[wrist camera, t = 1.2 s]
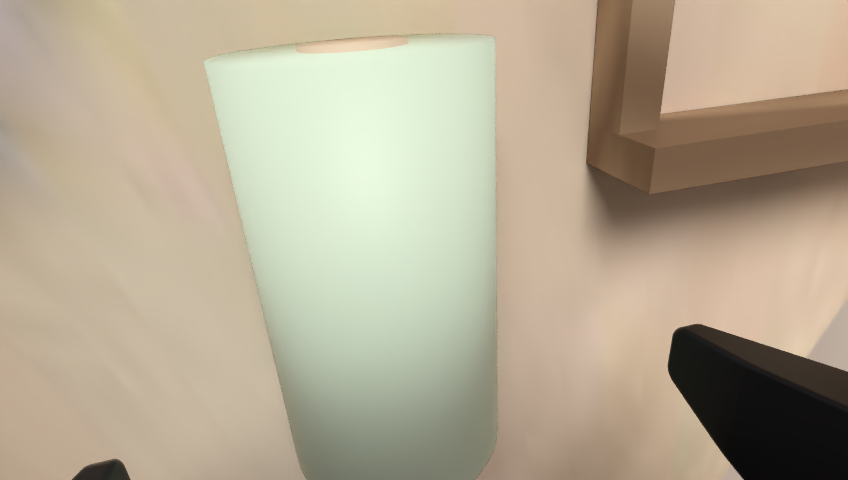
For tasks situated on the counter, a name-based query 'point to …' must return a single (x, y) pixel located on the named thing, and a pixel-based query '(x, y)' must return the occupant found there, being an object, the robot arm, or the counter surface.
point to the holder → (693, 115)
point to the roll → (372, 244)
